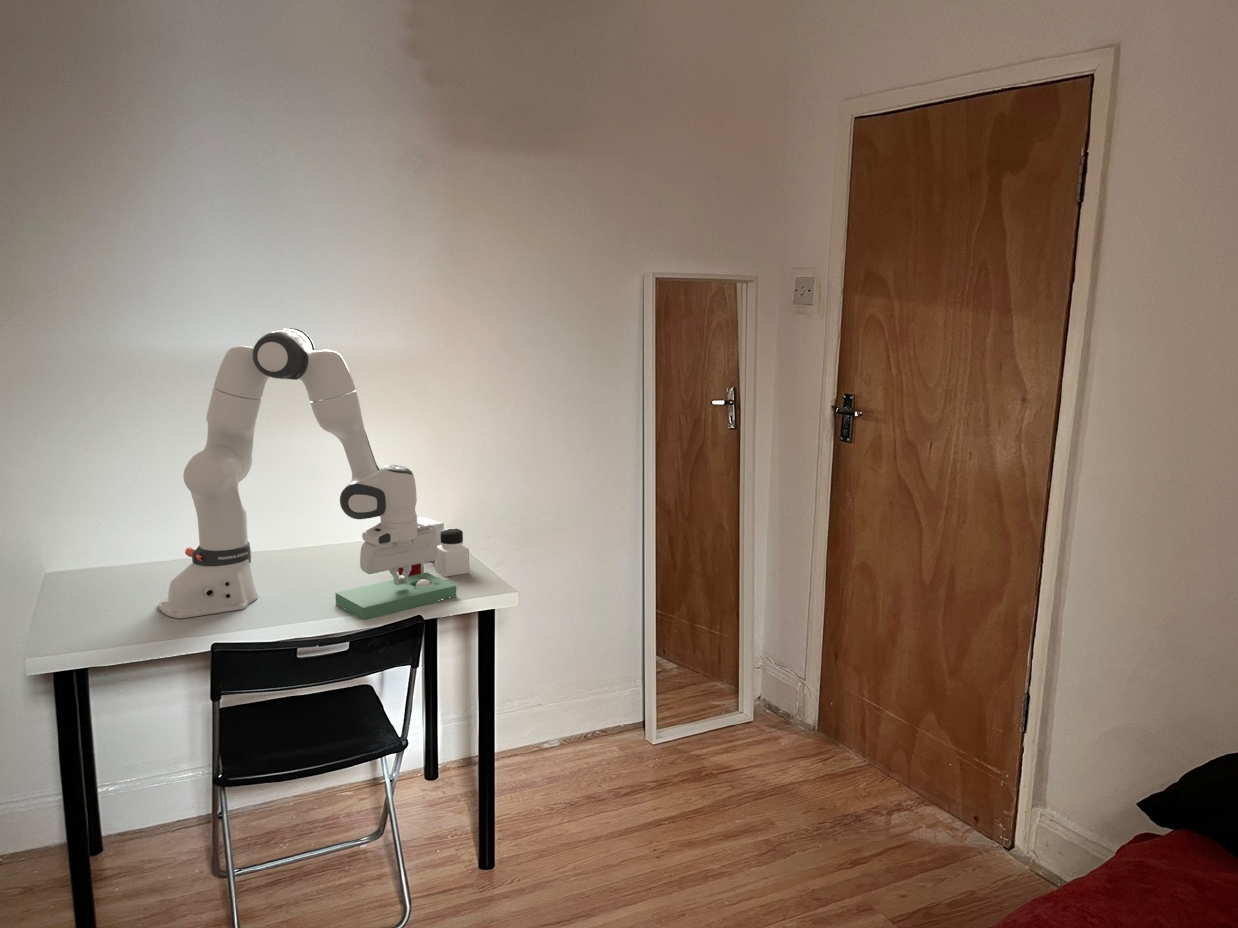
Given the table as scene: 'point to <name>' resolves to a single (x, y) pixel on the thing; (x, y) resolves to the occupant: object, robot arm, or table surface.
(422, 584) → the ball
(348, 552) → the table surface
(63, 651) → the table surface
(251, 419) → the robot arm
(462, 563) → the medicine bottle
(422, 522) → the skincare box
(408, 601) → the putting deck
